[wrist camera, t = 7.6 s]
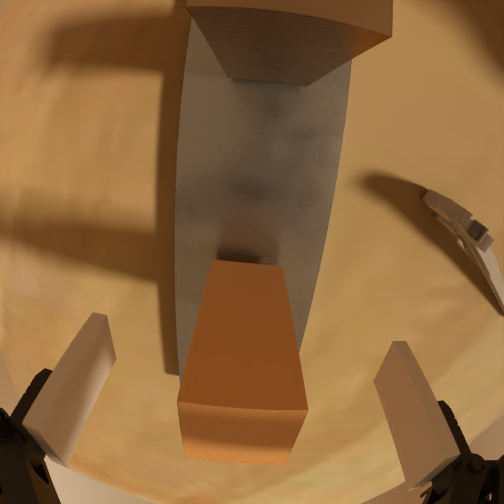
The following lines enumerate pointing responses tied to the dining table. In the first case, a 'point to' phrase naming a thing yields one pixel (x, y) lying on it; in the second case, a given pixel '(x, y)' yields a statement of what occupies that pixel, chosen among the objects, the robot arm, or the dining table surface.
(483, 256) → the caliper
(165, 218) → the dining table surface
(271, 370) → the slide leg
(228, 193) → the bar
